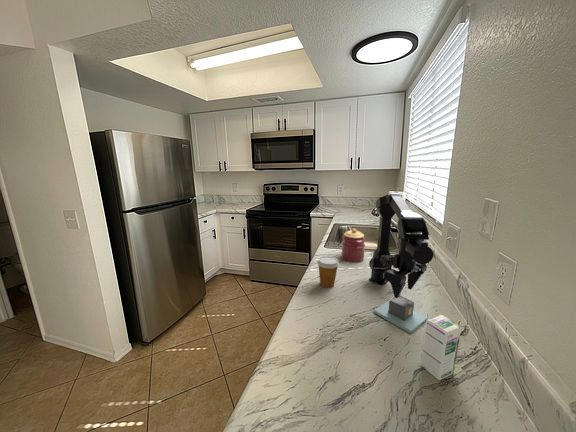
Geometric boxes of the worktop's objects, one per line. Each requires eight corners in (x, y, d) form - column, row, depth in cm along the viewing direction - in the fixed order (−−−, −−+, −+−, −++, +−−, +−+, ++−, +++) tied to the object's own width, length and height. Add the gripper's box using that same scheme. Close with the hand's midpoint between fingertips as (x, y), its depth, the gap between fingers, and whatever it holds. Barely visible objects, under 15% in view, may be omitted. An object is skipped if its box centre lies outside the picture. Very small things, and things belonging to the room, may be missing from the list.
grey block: (388, 312, 88) (389, 300, 87) (396, 306, 91) (398, 294, 90) (404, 321, 83) (406, 308, 82) (413, 314, 86) (414, 302, 85)
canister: (360, 264, 131) (363, 233, 127) (337, 259, 137) (339, 229, 133) (366, 256, 142) (368, 227, 138) (344, 252, 148) (346, 224, 144)
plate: (373, 312, 89) (373, 309, 89) (391, 301, 96) (391, 299, 96) (410, 333, 78) (411, 330, 78) (427, 319, 85) (428, 317, 85)
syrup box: (439, 381, 61) (448, 333, 58) (419, 364, 67) (426, 318, 63) (454, 373, 64) (463, 326, 60) (433, 357, 69) (440, 313, 66)
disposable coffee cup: (339, 281, 112) (341, 257, 109) (334, 291, 103) (336, 266, 101) (320, 277, 116) (321, 254, 113) (313, 286, 107) (314, 262, 105)
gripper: (399, 240, 93) (395, 277, 97) (371, 250, 83) (367, 291, 86) (430, 248, 85) (424, 288, 88) (402, 261, 74) (397, 306, 77)
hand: (403, 293), depth 85 cm, fingers open, 9 cm apart
